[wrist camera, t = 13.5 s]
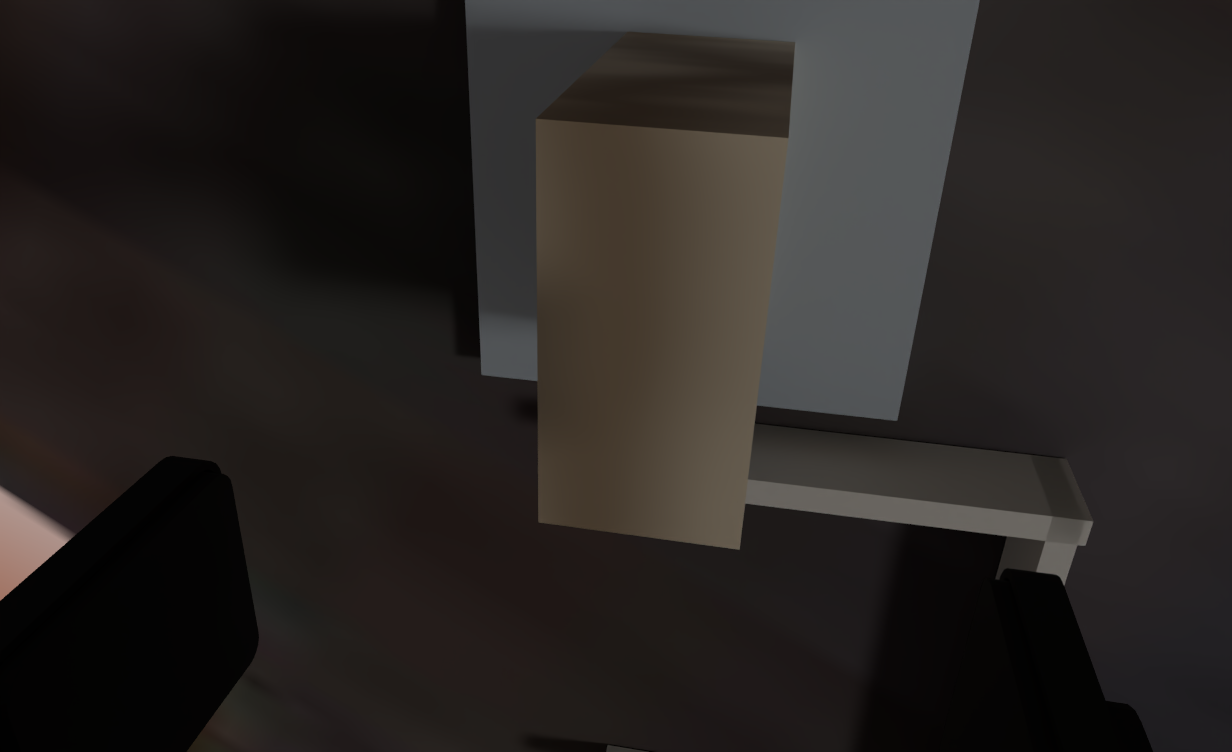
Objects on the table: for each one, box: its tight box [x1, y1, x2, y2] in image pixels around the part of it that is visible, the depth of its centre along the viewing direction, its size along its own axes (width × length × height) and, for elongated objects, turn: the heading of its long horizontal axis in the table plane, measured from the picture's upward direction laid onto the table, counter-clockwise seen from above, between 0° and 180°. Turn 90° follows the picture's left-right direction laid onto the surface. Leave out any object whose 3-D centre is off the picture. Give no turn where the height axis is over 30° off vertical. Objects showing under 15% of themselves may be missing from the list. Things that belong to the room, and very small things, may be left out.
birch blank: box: [536, 32, 795, 550], centre depth 21 cm, size 4×8×9 cm, turn 178°
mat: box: [465, 0, 980, 421], centre depth 25 cm, size 12×12×1 cm
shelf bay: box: [606, 424, 1093, 752], centre depth 31 cm, size 16×13×3 cm
